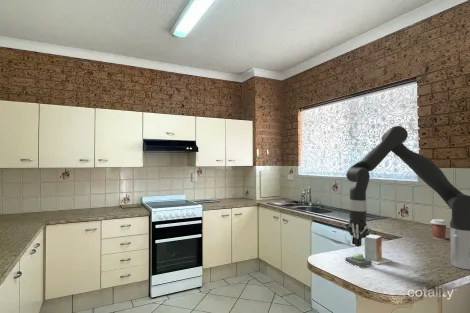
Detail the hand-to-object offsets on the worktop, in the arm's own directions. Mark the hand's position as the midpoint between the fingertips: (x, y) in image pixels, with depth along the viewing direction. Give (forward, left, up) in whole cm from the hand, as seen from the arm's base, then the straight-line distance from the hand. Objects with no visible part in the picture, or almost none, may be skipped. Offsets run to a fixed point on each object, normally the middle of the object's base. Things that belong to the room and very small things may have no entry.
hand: (357, 246), depth 129 cm
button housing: (0, 0, -8) cm, 8 cm away
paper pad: (0, -12, -8) cm, 14 cm away
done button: (0, 0, -6) cm, 6 cm away
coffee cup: (+9, -88, -8) cm, 89 cm away
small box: (+1, -12, -8) cm, 14 cm away
